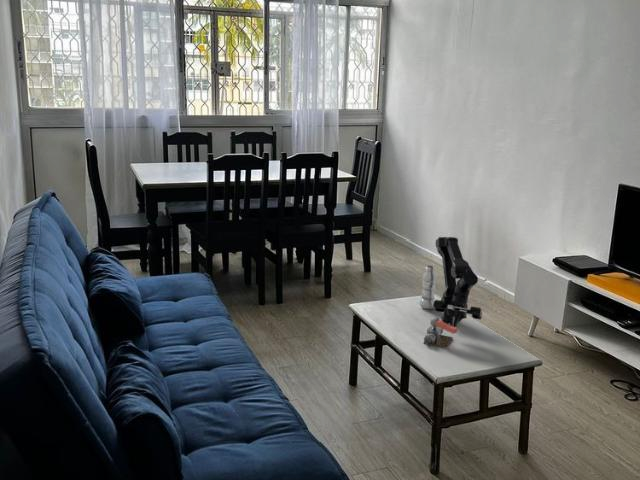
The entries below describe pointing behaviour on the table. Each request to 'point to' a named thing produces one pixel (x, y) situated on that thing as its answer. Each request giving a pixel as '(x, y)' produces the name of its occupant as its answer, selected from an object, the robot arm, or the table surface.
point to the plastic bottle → (428, 288)
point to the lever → (443, 325)
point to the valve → (436, 337)
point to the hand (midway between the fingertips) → (452, 329)
